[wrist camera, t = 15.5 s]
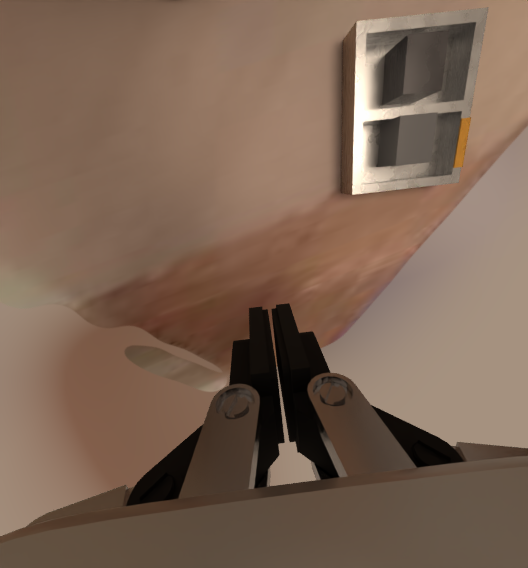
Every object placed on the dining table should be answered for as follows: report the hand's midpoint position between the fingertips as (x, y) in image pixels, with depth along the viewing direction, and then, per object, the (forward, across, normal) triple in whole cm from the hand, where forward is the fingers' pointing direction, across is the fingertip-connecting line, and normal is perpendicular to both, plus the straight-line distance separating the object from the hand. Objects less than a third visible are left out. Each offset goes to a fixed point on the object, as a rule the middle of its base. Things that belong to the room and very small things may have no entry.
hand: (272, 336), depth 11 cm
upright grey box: (+26, -18, -8) cm, 33 cm away
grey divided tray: (+27, -18, -11) cm, 35 cm away
